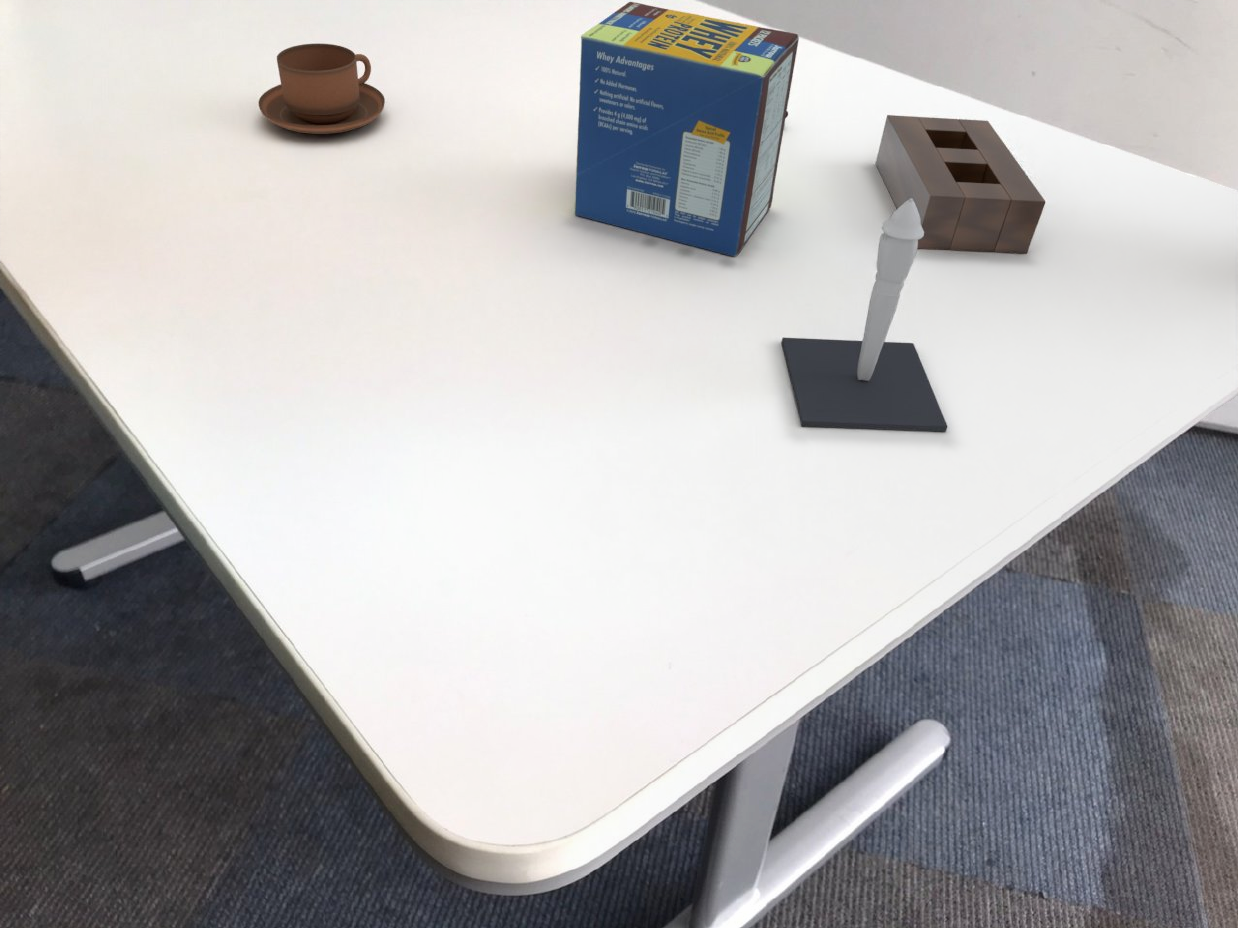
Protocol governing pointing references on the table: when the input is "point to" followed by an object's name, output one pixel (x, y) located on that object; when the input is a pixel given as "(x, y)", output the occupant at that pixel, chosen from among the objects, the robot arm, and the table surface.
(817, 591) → the table surface
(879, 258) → the pen
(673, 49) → the protein box
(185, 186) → the table surface
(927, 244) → the pen stand
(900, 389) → the mat
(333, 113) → the cup and saucer
